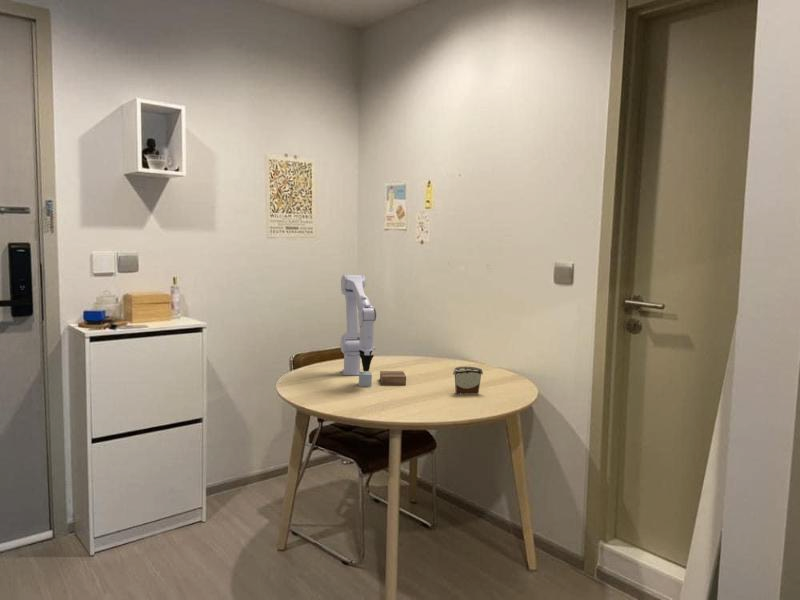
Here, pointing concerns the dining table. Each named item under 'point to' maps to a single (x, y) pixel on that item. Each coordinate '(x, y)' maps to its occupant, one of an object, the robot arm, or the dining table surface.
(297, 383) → the dining table surface
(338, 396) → the dining table surface
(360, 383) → the gray cube
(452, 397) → the dining table surface
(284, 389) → the dining table surface
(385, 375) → the walnut block
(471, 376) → the food container
